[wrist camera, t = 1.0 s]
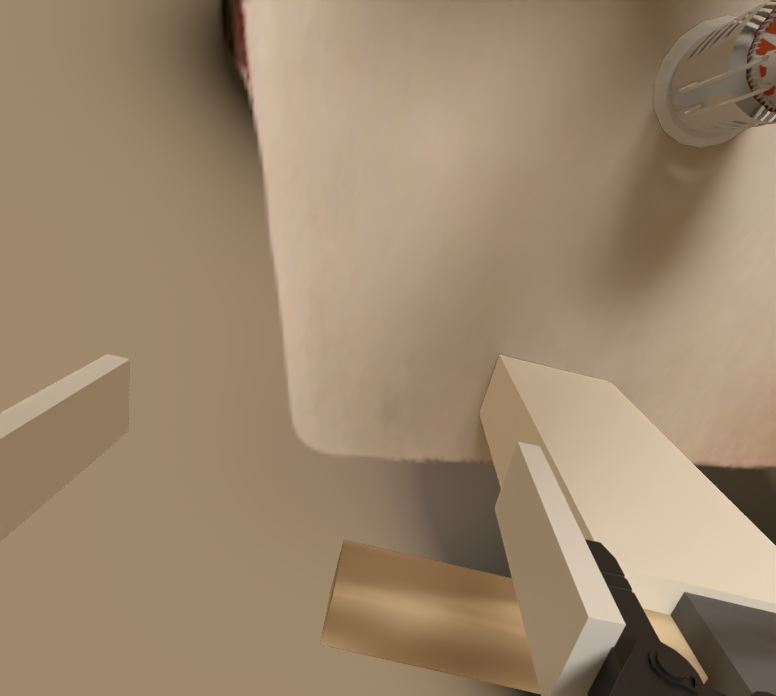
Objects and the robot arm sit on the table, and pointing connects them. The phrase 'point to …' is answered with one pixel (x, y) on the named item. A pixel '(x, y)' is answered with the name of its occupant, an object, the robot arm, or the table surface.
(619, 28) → the table surface
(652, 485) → the stand
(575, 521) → the robot arm
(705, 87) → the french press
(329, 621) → the mallet
